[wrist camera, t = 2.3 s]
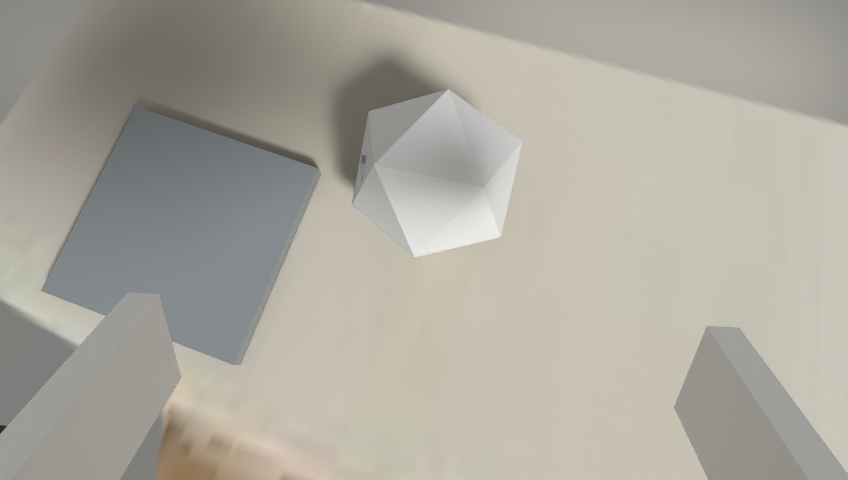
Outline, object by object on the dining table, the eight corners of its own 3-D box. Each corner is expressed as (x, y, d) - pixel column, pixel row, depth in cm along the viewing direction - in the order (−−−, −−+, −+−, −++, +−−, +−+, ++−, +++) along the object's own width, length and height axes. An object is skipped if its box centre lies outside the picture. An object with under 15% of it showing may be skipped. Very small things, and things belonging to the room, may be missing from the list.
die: (437, 105, 33) (325, 66, 26) (564, 122, 28) (471, 80, 21) (412, 230, 35) (298, 229, 27) (529, 267, 30) (430, 278, 22)
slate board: (320, 173, 32) (317, 167, 31) (240, 364, 29) (233, 364, 28) (144, 113, 33) (135, 105, 32) (53, 292, 30) (41, 290, 29)
